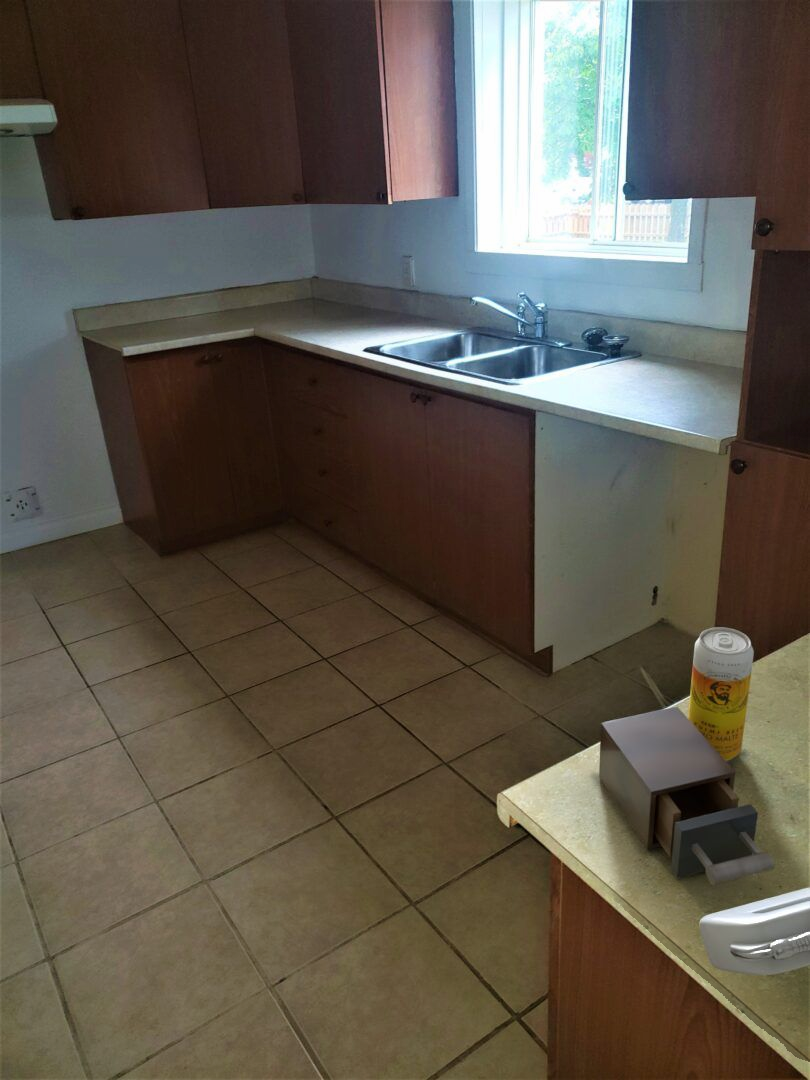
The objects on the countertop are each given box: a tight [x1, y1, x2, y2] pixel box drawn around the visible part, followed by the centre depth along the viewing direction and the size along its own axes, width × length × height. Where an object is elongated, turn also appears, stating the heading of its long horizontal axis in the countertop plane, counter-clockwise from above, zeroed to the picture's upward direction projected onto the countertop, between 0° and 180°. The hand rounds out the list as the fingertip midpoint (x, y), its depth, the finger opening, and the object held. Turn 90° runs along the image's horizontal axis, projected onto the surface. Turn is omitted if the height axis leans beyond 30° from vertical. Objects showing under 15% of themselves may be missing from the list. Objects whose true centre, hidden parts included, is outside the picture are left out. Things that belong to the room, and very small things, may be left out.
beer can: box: [687, 626, 755, 762], centre depth 92 cm, size 6×6×15 cm
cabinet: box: [598, 706, 737, 850], centre depth 87 cm, size 11×9×8 cm
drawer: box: [653, 779, 776, 886], centre depth 80 cm, size 15×8×6 cm, turn 13°
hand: (782, 906), depth 69 cm, fingers closed
